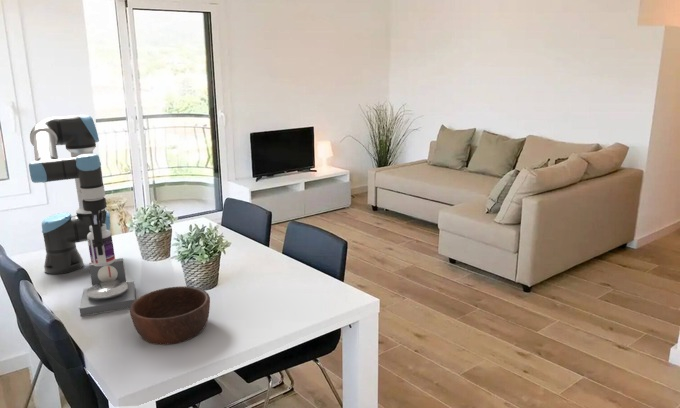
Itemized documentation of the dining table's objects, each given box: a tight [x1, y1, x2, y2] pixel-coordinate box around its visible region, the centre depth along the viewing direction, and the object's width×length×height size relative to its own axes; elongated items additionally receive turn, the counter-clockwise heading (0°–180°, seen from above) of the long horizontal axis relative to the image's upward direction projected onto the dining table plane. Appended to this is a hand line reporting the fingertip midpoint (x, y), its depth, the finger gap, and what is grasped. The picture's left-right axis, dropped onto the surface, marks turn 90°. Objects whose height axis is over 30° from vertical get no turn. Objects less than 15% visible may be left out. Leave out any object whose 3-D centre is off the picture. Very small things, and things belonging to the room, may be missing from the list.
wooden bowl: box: [129, 286, 211, 346], centre depth 176 cm, size 25×25×10 cm
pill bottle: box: [87, 223, 116, 266], centre depth 193 cm, size 8×8×14 cm
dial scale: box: [78, 257, 136, 317], centre depth 199 cm, size 21×18×12 cm
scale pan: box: [87, 281, 128, 299], centre depth 198 cm, size 14×14×2 cm
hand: (102, 258), depth 195 cm, fingers closed on pill bottle, 8 cm apart
